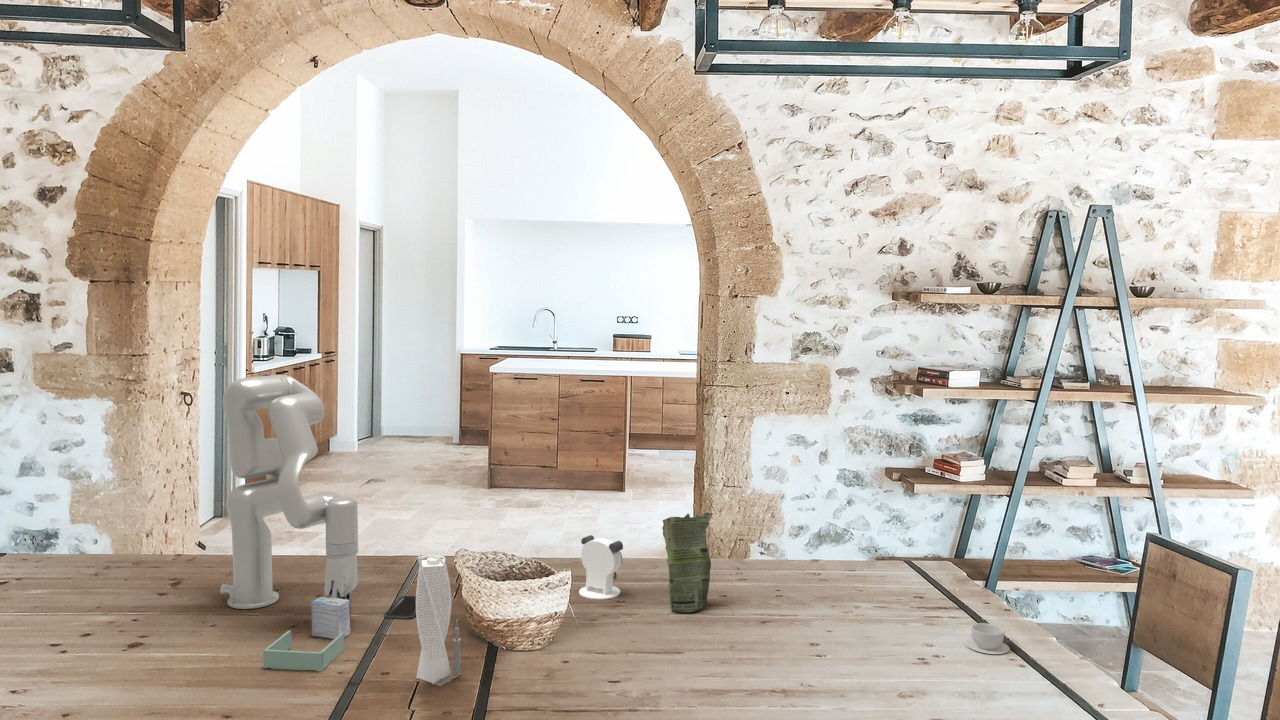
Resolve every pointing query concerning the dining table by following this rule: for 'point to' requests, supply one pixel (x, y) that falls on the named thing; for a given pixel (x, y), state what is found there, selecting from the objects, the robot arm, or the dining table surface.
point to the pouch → (687, 561)
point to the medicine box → (330, 617)
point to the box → (300, 655)
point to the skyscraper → (435, 621)
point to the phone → (403, 609)
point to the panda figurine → (600, 567)
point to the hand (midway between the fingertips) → (343, 620)
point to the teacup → (987, 639)
